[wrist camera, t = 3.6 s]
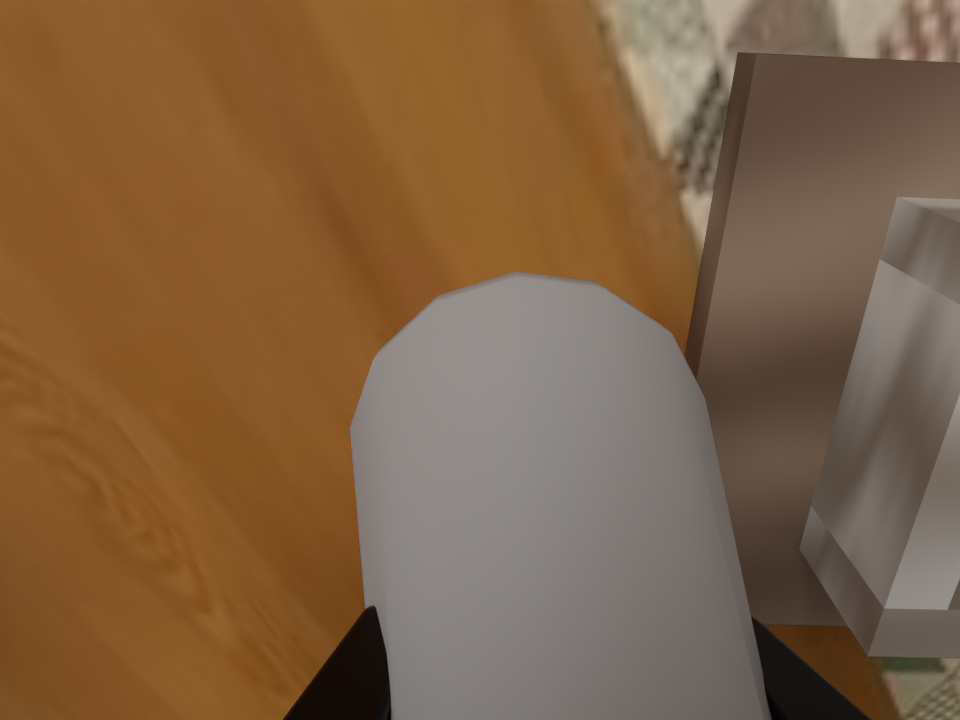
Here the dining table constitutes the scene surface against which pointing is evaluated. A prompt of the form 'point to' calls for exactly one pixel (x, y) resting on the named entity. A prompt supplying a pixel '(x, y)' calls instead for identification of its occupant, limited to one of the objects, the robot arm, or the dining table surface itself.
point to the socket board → (839, 344)
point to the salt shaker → (548, 515)
